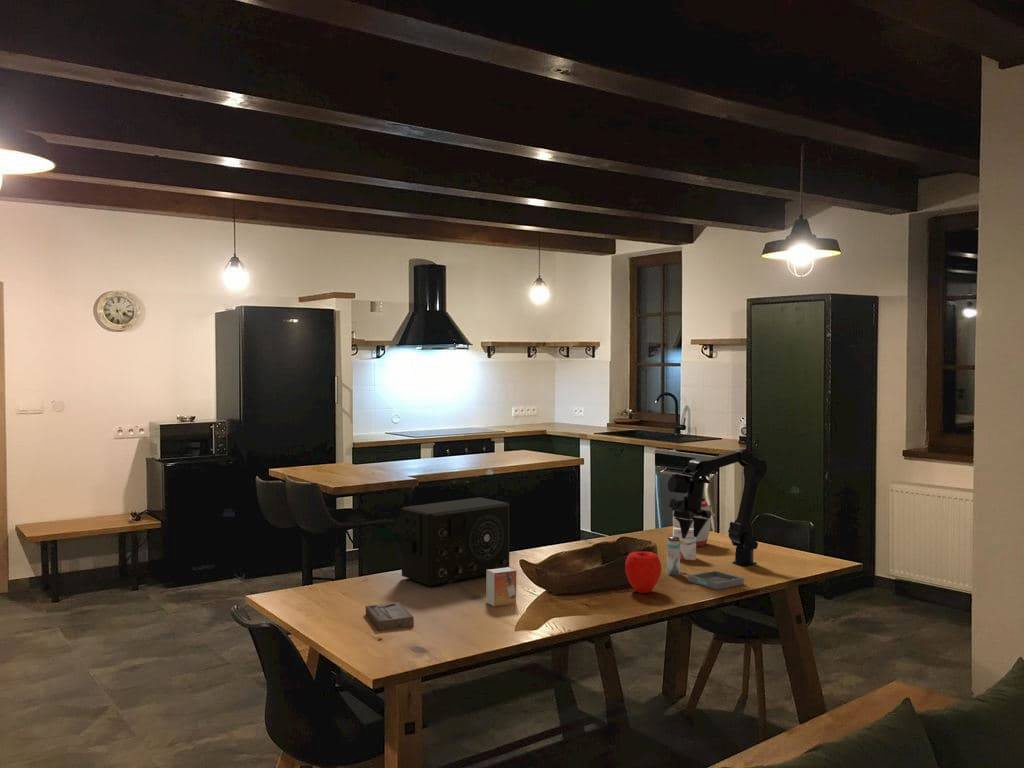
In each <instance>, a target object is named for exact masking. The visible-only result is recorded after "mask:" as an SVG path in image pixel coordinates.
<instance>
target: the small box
mask: <svg viewBox="0 0 1024 768" xmlns="http://www.w3.org/2000/svg"><path fill="white" fill-rule="evenodd" d="M485 577H486V584H485V585H486V588H485V589H486V593H485V594H486V595H485V596H486V597H485V598H486V599H485V600H486V601H485V602H486V603H487V604H489V605H490V606H492V607H499V606H500V607H501V606H508V605H509V606H510V605H516V604H517V570H516V569H515V568H514V569H513V568H511V567H510V566H509V567H506V568H499V569H488V570H486V575H485Z"/></svg>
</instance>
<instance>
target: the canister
mask: <svg viewBox="0 0 1024 768" xmlns="http://www.w3.org/2000/svg"><path fill="white" fill-rule="evenodd" d="M666 575H667V576H674V577H675V576H677V577H678V576H680V575H681V559H680V540H679V537H675V536H673V535H672V536H668V537H667V539H666Z"/></svg>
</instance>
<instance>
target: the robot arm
mask: <svg viewBox="0 0 1024 768" xmlns="http://www.w3.org/2000/svg"><path fill="white" fill-rule="evenodd" d="M735 463H738V464H739V465H740V466H742V467H743V472H742V473H743V478H744V481H745V483H744V486H743V491H742V495H741V498H740V499H741V501H740V503H739V504H740V506H739V509H738V512H737V517H736V519H735V521H730V523H729V528H728V530H727V533H728V538H729V540H730V541H731V544H732V546H734V547H735V553H734V554H735V557H734V560H733V561H732V564H736V565H740V566H744V567H748V566H752V565H757V561H756V562H755V561H754V550H757V549H758V545H759V542H758V541H756V539H754V537H753V526H752V517H753V513H754V508H755V502H756V498H757V494H758V490H759V485H760V484H761V482H762V481H763V479H764V478H765V477H766V473H767V472H768V464H767V462H766V461H765V460H763V459H759V458H757V457H756V456H753V455H752V454H750V453H749V452H747V451H746V450H744V449H738V448H736V449H734V450H732V451H729V452H725V453H722V454H719V455H716V456H712V457H709V458H694V459H693V458H692V459H691V460H689V462H688V464H687V466H686V467H685V469H683V471H682V472H681V473H680V474H679V473H675V472H674V473H672V474H671V475H672V476H671V477H669V479H668V481H667V489H668V491H669V492H670V493H676V494H678V493H679V494H686V495H684V496H683V500H681V499H680V500H678V499H677V498H670V500H669V504H668V507H669V508H670V509H671V512H672V517H673V516H674V517H675V519H677V520H678V522H679V523H680V528H681V533H682V538H686V536H687V534H688V531H689V529H690V526H691V524H692V522H693V521H694V537H697V536H698V534H699V533H700V531H701V530H702V528H703V526H704V525H705V524H706V522H707V521H708V520H709V519H705V517H706V518H710V519H711V518H712V516H711V513H710V511H709V510H704V509H701V507H702V501H703V502H705V498H704V489H705V484H710V483H711V482H710V480H709V479H708V478H707V476H708V475H710V474H712V473H713V472H714V471H715V470H717V469H720V468H724V467H726V466H729V465H732V464H735ZM674 510H675V511H674ZM673 511H674V513H673ZM690 519H692V520H690Z"/></svg>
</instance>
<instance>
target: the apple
mask: <svg viewBox="0 0 1024 768" xmlns="http://www.w3.org/2000/svg"><path fill="white" fill-rule="evenodd" d="M624 568H625V570H624V572H625V575H626V578H627V580H628V583H629V584H630V586H631V587H632V589H634V591H635V592H637V593H639V594H647V593H650V592H652V591H653V589H654V588H655V586H656V585H657V583H658V581H659V579H660V576H661V575H662V562H661V559H660V558H659V556H658V555H657V554H656V553H654V552H653V551H643V550H641V551H640V550H639V551H632V552H630V553H629V554H628V555H627V557H626V559H625V563H624Z"/></svg>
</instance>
